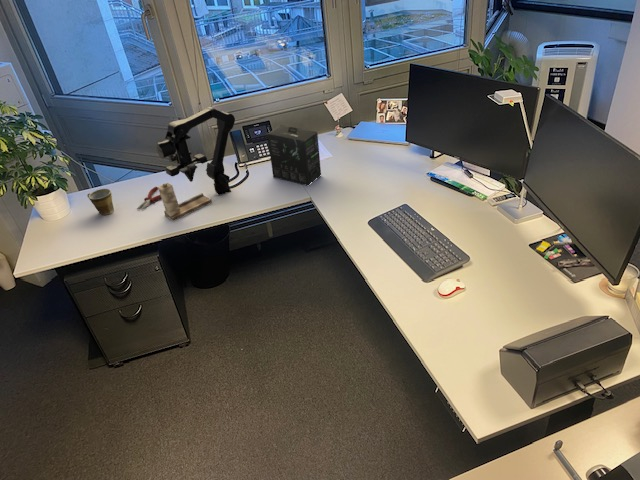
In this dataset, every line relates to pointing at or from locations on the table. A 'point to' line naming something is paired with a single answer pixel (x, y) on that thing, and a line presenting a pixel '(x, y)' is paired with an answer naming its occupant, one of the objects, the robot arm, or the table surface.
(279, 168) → the headset box
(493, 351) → the table surface
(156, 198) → the pliers
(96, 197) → the ceramic cup
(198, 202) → the board
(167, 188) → the beige boxy piece
